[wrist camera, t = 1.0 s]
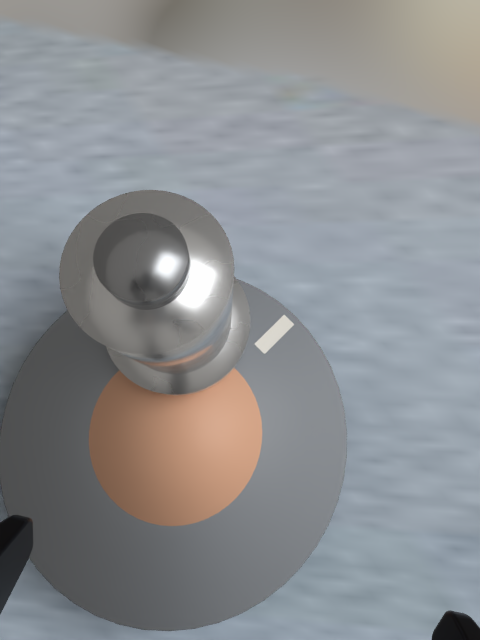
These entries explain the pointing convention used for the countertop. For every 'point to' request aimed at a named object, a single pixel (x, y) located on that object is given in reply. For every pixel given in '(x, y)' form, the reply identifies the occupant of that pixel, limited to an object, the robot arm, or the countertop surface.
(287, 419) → the turntable
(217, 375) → the cover
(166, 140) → the countertop surface
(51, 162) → the countertop surface
